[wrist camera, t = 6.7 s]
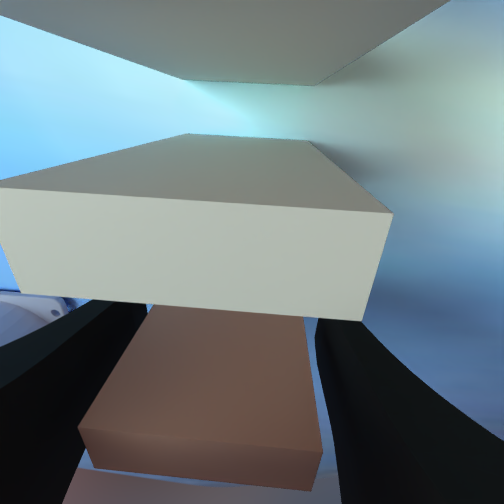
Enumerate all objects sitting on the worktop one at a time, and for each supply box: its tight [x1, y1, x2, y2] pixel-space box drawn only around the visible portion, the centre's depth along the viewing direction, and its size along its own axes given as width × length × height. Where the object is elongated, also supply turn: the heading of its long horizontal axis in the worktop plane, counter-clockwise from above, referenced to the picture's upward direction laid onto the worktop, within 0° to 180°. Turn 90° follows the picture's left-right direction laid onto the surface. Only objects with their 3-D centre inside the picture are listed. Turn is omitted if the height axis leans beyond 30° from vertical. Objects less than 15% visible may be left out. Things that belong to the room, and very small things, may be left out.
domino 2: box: [0, 134, 394, 321], centre depth 8 cm, size 2×5×9 cm, turn 87°
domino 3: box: [0, 0, 450, 86], centre depth 6 cm, size 2×5×9 cm, turn 87°
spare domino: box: [78, 304, 323, 491], centre depth 10 cm, size 2×5×9 cm, turn 87°
